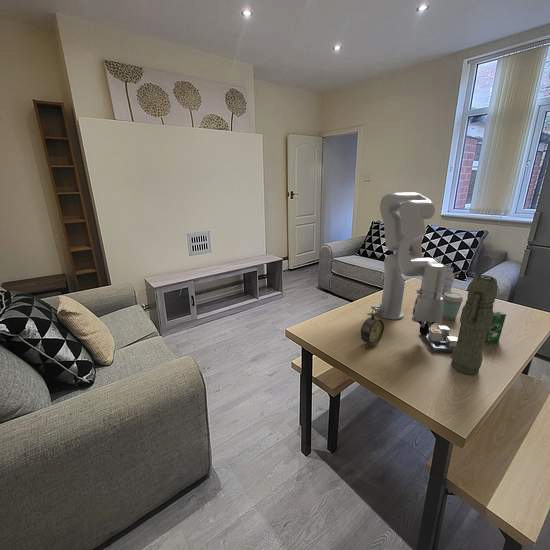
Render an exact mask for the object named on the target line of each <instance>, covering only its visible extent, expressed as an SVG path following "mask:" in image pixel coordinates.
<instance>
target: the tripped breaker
mask: <svg viewBox="0 0 550 550" xmlns="http://www.w3.org/2000/svg"><path fill="white" fill-rule="evenodd" d="M441 336H442V332H441V331H440V330H439V329H437V328H429V338H430V339H431V341H441Z"/></svg>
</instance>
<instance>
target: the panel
mask: <svg viewBox="0 0 550 550" xmlns="http://www.w3.org/2000/svg"><path fill="white" fill-rule="evenodd" d="M436 329H439V330H440V331H441V332H442V336H441V341H431V339H430V338H429V332H428V333H427V336H425V335H424V336H422V334H421V333H420V332H419V334H420V336H421V337H422V339H423V340H424V342H425V343H426V345H427V346H428V349H430V351H431V352H432V354H447V355H452V354H453V350H454V349H455V348H456V344H457V339H458V336H453V335H452V334H451V332H450V331H451V329H450V328H449V327H448V326H447V325H440V324H439V325H437V328H436Z"/></svg>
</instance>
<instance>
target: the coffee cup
mask: <svg viewBox="0 0 550 550" xmlns="http://www.w3.org/2000/svg"><path fill="white" fill-rule="evenodd" d="M463 301H464V298H463V295H461V294H460V293H457V292H453V291H451V292H446V293H445V294H444V295H443V315H442V318H444V319H445V320H448V321H453V320H456V319H457V316H458V314H459V310H460V308H461V305H462V303H463Z"/></svg>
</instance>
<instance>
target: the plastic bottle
mask: <svg viewBox="0 0 550 550" xmlns="http://www.w3.org/2000/svg"><path fill="white" fill-rule="evenodd" d="M445 267H446V272H445V277H444V283H443V288H442V294H441V297H442V298H443V295H444V294H445V293H446V292H452V287H453V284H454V280H455V275H454V273H453V272H454V267H453V266H445Z"/></svg>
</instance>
